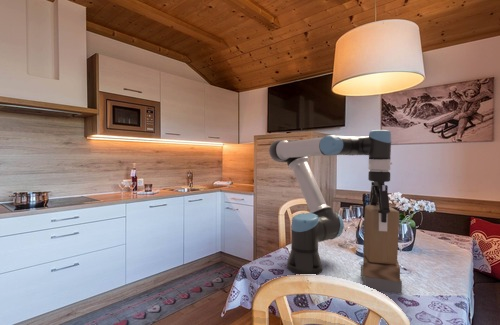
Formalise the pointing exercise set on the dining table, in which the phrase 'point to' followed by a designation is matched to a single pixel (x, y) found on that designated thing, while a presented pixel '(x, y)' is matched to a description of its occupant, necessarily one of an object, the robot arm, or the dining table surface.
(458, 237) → the dining table surface
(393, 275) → the tower top slab
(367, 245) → the wooden block
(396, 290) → the tower base slab
